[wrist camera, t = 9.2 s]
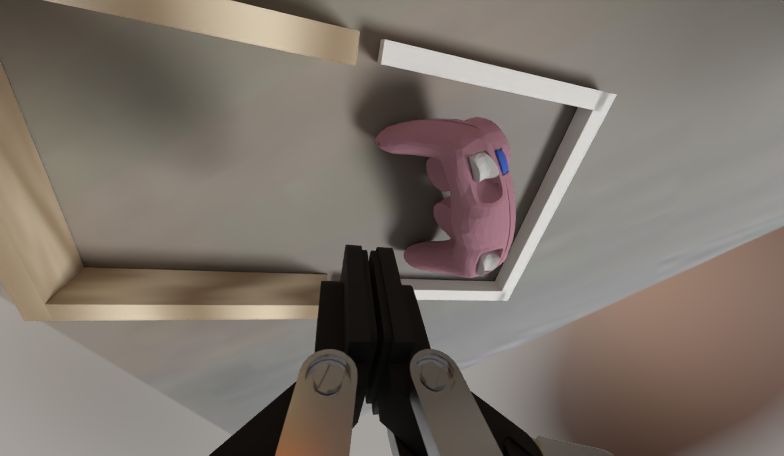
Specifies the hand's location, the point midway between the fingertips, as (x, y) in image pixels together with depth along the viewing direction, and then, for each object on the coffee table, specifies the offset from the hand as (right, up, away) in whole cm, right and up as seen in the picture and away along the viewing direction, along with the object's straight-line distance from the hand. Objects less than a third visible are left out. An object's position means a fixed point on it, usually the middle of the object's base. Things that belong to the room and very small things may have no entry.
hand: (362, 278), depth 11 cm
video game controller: (+4, +5, +9) cm, 10 cm away
